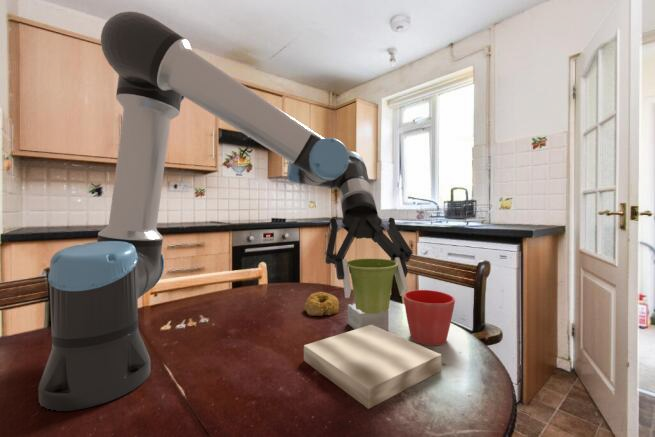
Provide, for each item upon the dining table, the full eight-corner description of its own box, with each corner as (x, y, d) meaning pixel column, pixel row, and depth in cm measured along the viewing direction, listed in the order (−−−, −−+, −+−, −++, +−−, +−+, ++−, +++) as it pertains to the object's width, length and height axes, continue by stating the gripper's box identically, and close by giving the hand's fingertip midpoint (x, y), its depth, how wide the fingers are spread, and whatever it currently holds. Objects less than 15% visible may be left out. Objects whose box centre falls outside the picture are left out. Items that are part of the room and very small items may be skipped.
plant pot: (398, 319, 53) (398, 268, 52) (343, 316, 55) (342, 266, 54) (397, 302, 62) (397, 259, 61) (350, 300, 64) (349, 257, 63)
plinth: (368, 408, 46) (368, 388, 46) (303, 360, 60) (303, 345, 60) (441, 370, 56) (441, 354, 56) (371, 337, 71) (371, 324, 71)
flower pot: (449, 353, 63) (449, 306, 63) (396, 341, 69) (397, 298, 68) (458, 335, 72) (458, 293, 72) (411, 326, 78) (411, 287, 77)
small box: (389, 331, 75) (389, 310, 75) (359, 335, 73) (359, 313, 72) (374, 320, 82) (374, 300, 82) (346, 323, 80) (346, 303, 80)
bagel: (296, 313, 87) (296, 296, 87) (317, 303, 97) (317, 288, 97) (326, 320, 82) (326, 303, 82) (346, 309, 92) (346, 293, 91)
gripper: (401, 214, 74) (429, 300, 59) (308, 215, 72) (313, 305, 56) (409, 191, 68) (443, 279, 53) (309, 191, 66) (314, 283, 51)
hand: (376, 292), depth 55 cm, fingers closed on plant pot, 9 cm apart
